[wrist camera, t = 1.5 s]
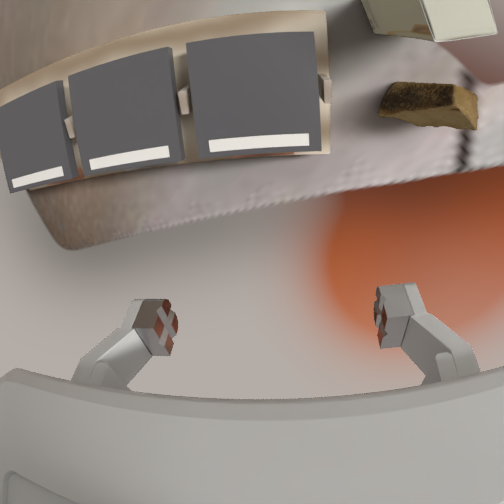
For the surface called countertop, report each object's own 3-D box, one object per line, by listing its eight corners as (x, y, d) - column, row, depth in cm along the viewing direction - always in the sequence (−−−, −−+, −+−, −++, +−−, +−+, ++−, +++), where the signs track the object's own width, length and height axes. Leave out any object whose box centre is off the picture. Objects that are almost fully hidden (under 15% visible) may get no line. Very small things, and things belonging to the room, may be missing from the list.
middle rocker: (74, 75, 23) (67, 76, 22) (172, 48, 22) (167, 46, 21) (90, 173, 28) (83, 176, 27) (185, 158, 27) (181, 161, 26)
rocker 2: (189, 44, 22) (185, 42, 21) (312, 34, 21) (313, 31, 20) (202, 156, 27) (198, 159, 25) (319, 148, 26) (321, 151, 24)
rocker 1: (0, 108, 24) (-7, 110, 23) (62, 80, 23) (55, 80, 22) (16, 189, 29) (9, 193, 28) (78, 175, 28) (72, 178, 27)
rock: (495, 88, 23) (437, 33, 19) (514, 154, 21) (458, 99, 18) (430, 124, 33) (370, 86, 30) (437, 184, 31) (373, 150, 28)
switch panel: (11, 85, 26) (-24, 102, 21) (320, 12, 23) (333, 8, 18) (41, 178, 35) (15, 205, 30) (325, 142, 32) (336, 169, 27)
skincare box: (373, 34, 23) (430, 45, 14) (357, -5, 21) (408, -17, 12) (428, 24, 22) (501, 36, 12) (414, -14, 19) (484, -21, 10)
